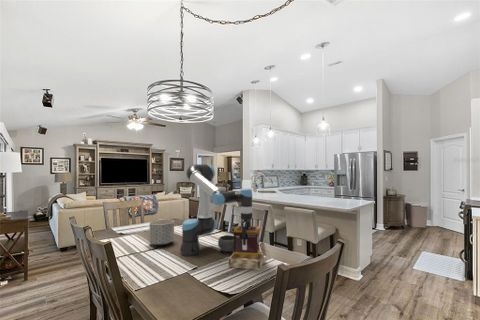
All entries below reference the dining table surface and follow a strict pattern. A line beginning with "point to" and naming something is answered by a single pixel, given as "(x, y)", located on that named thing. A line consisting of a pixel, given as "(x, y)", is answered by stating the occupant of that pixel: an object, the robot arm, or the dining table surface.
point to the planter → (161, 232)
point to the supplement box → (251, 241)
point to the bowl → (226, 243)
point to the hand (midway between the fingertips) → (246, 246)
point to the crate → (246, 261)
